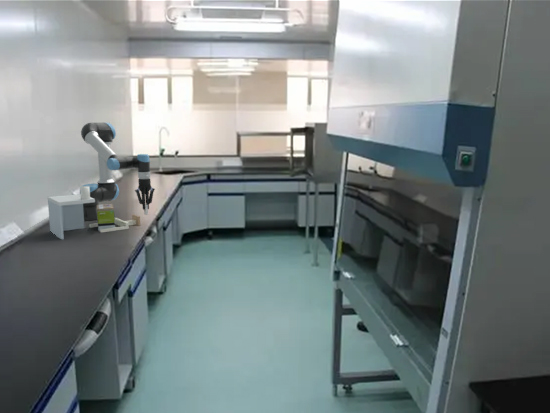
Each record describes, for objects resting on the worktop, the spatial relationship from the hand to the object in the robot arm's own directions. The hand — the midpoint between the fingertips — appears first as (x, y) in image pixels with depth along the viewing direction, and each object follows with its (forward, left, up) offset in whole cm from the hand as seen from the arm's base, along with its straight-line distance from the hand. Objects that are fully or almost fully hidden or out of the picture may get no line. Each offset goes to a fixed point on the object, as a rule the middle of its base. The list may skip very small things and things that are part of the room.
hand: (146, 214), depth 330 cm
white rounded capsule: (+8, -40, +15) cm, 44 cm away
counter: (0, -46, -6) cm, 47 cm away
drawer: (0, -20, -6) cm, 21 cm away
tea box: (0, -26, -7) cm, 27 cm away
